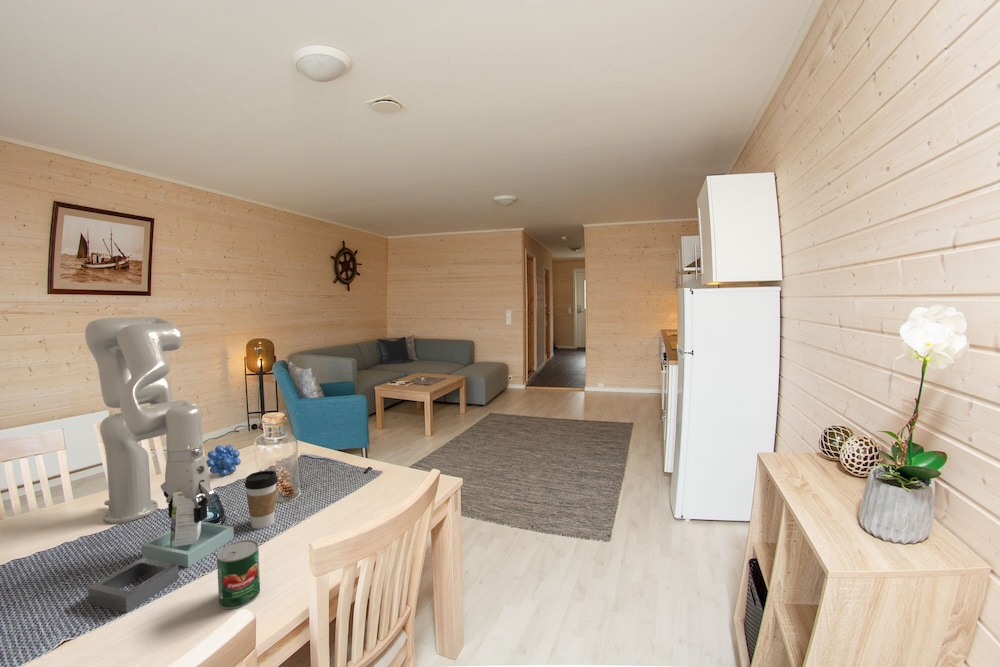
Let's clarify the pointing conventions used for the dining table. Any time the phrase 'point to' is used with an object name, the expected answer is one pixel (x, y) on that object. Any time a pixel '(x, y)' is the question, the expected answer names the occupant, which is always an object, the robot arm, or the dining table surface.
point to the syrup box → (183, 521)
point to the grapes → (223, 460)
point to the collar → (125, 601)
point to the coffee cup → (261, 498)
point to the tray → (192, 553)
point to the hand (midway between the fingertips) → (188, 517)
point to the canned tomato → (238, 574)
